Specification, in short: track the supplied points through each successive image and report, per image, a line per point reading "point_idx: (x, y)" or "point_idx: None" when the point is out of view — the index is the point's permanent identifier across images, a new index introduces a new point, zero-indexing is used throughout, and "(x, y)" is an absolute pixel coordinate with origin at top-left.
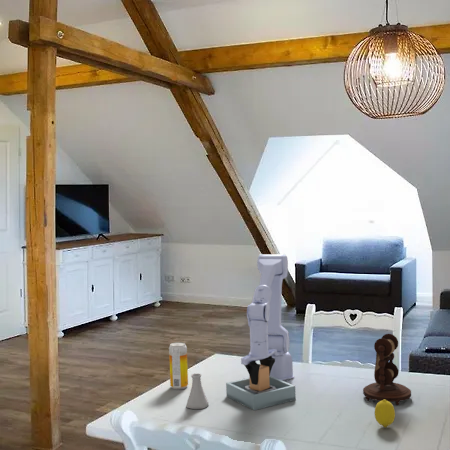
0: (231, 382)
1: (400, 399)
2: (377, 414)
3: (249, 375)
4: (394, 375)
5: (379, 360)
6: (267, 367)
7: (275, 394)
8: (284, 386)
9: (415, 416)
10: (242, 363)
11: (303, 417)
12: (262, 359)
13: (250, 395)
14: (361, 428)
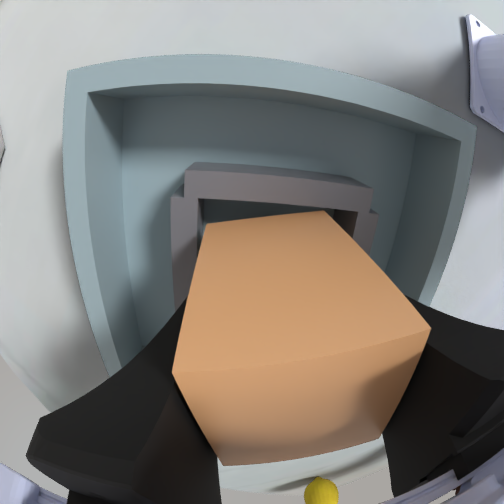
0: (103, 81)
1: None
2: (305, 500)
3: (158, 333)
4: None
5: (459, 486)
6: (355, 440)
7: None
8: None
9: (386, 459)
10: (11, 479)
11: None
12: (451, 435)
13: (111, 372)
14: (288, 475)
